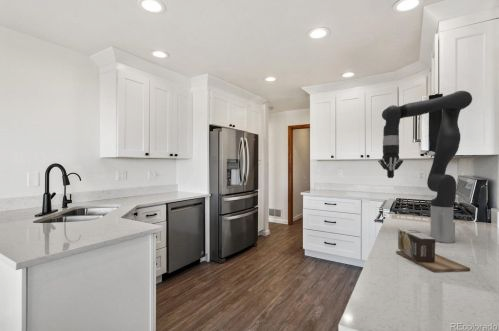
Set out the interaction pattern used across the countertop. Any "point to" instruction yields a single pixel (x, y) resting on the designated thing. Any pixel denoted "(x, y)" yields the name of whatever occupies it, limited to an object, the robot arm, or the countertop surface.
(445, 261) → the cutting board
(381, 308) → the countertop surface
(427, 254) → the coffee box
